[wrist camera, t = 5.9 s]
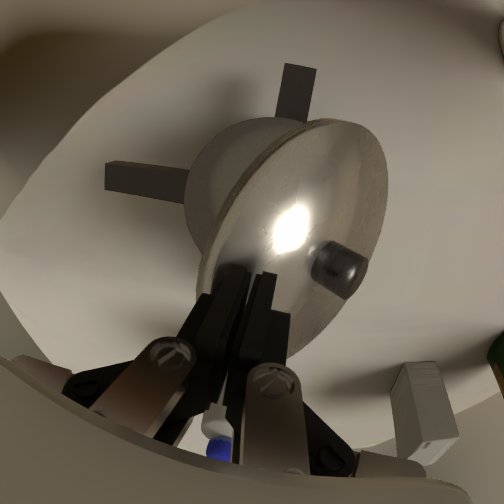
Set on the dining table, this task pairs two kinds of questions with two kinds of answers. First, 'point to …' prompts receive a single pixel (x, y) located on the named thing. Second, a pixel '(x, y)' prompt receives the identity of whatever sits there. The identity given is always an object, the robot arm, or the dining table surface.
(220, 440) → the bottle
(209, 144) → the cooker
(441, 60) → the dining table surface
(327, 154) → the lid
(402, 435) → the skincare box
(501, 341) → the bottle
